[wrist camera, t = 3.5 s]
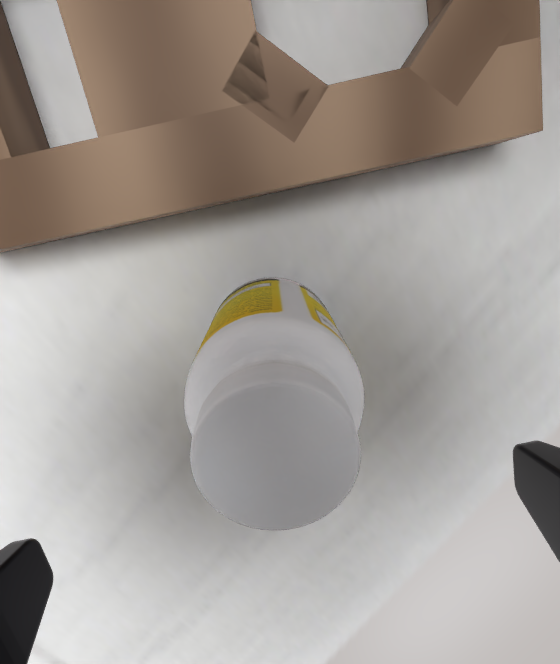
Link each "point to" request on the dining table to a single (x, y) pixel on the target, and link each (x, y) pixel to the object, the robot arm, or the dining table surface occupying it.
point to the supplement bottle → (274, 408)
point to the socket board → (247, 110)
